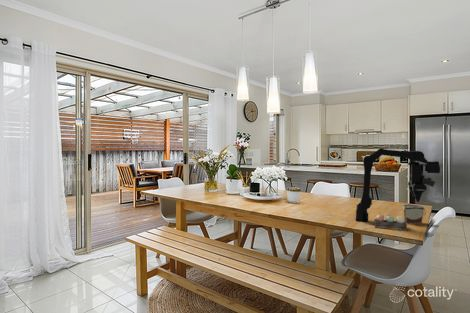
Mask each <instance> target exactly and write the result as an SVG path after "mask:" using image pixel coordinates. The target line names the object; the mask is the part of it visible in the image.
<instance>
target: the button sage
mask: <svg viewBox="0 0 470 313" xmlns="http://www.w3.org/2000/svg"><path fill="white" fill-rule="evenodd" d="M385 220H386V222H388V223H394V221H395V216H393V215H386V219H385Z"/></svg>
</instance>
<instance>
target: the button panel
mask: <svg viewBox="0 0 470 313" xmlns="http://www.w3.org/2000/svg"><path fill="white" fill-rule="evenodd" d="M374 228H375V229H386V230H394V231H395V230H396V231H404V232H408V223H407V224H406V223H405V221H404V224H398V223H396V220H394V223H388V222H386V219H384V222H378V221H377V218H374Z"/></svg>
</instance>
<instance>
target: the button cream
mask: <svg viewBox="0 0 470 313" xmlns="http://www.w3.org/2000/svg"><path fill="white" fill-rule="evenodd" d="M395 221H396V223H398V224H404V222H405V220H404V216H396V218H395Z"/></svg>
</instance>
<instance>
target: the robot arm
mask: <svg viewBox="0 0 470 313" xmlns="http://www.w3.org/2000/svg"><path fill="white" fill-rule="evenodd" d="M382 156H389V157H395V158H396V157H397V158H403V159H407V160H410V161H409V162H408V163H407V165H408V166H410V180H408V182H407V186H408V188H409V191H410V193H411V196H412V198H413V199H414V200H415V201H416V202H418V203H419V202H420V200H421V197H422V195H423V193H425V192H426V191H427V186H430V187H432V188H433V187H434V185H435V184H436V181H434V180H432V178H431V177H429V176H427V177H425V174H424V172H425V173H426V174H436V175H437V174H440V172H441V165H440V161H437V160H436V161H428V159H427V158H426V157H425V153H423V151H421V150H409V151H408V150H407V151H405V150H404V151H403V150H395V149H385V148H378V149H377V150H376V151H374V152H372V153H371V154H370V155H366V156H365V155H364V157H363V158H362V162H363V169H364V170H363V171H364V172H363V173H364V174H363V187H362V194H361V198H360V202H359V203H358V204H356V210H355V221H356V222H365V223H368V221H369V212H368V209H370V208H371V206H372V205H373V196H371V195H370V189H371V176H372V174H371V173H372V170H373V166H374V162H375V161H376V160H377V159H379V158H380V157H382ZM419 162H420V163H419Z"/></svg>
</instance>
